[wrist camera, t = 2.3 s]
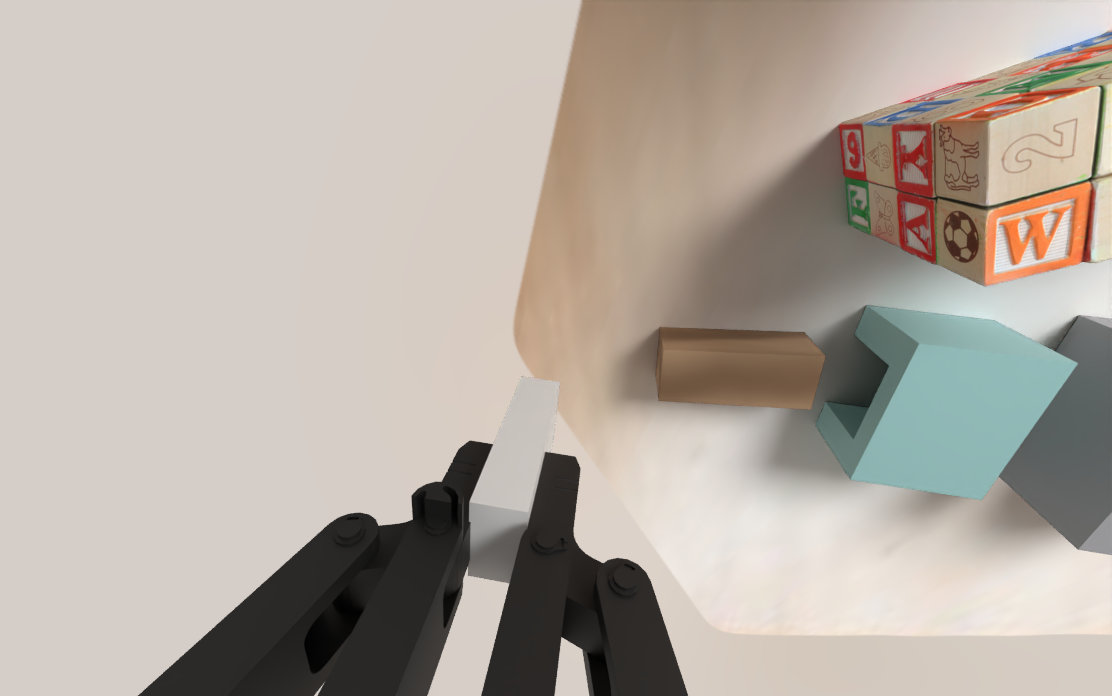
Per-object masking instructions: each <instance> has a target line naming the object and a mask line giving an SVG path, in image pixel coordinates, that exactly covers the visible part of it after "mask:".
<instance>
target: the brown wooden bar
mask: <svg viewBox="0 0 1112 696" xmlns="http://www.w3.org/2000/svg"><path fill="white" fill-rule="evenodd" d="M825 358H826V356H825V355H824V354H823V353H822V352H821V351H820V350H819V348H818V347H817V346H816V345H815V344H814V343H813V342H812V341H811V339H810V338H809V337H808V336H807V335H806V334H805V333H804V332H782V331H754V330H726V329H697V328H669V327H660V331H659V342H658V353H657V365H656V382H657V390H658V398H659V401H671V402H688V403H705V404H723V405H740V406H758V407H775V408H792V409H810V410H811V408H812V404H813V401H814V397H815V393H816V390H817V386H818V383H819V379H820V375H821V372H822V368H823V365H824V361H825Z"/></svg>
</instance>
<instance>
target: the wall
mask: <svg viewBox="0 0 1112 696" xmlns="http://www.w3.org/2000/svg"><path fill="white" fill-rule="evenodd" d="M1055 352H1057V353H1059V354H1061V355H1063V356H1065V357H1067V358H1069V359H1071V360H1073V361H1074V362H1076V363H1078V364H1077V366H1076V367H1075V368H1074V370H1073V371H1072V373H1071V374H1070V376H1069V377H1068V378H1067V380H1066V381H1065V383H1064V384H1063V385H1062V387H1061V388H1060V390H1059V391H1058V393H1057V394H1056V395H1055V397H1054V398H1053V400H1052V401H1051V402H1050V404H1049V405H1048V407H1047V408H1046V410H1045V411H1044V412H1043V414H1042V415H1041V417H1040V418H1039V420H1038V421H1037V422H1036V424H1035V425H1034V427H1033V428H1032V429H1031V431H1030V432H1029V434H1028V435H1027V437H1026V438H1025V439H1024V441H1023V442H1022V444H1021V445H1020V446H1019V448H1018V449H1017V451H1016V452H1015V454H1014V455H1013V456H1012V458H1011V459H1010V461H1009V462H1008V463H1007V465H1006V466H1005V468H1004V469H1003V471H1002V472H1001V473H1000V475H999V477H1000V478H1001V479H1002V480H1003V481H1004V482H1006V483H1007V484H1008V485H1009V486H1010V487H1011V488H1012V489H1013V490H1014V491H1015V492H1016V493H1017V494H1018V495H1020V496H1021V497H1022V498H1023V499H1024V500H1025V501H1026V502H1027V503H1028V504H1029V505H1030V506H1031V507H1033V508H1034V509H1035V510H1036V511H1037V512H1038V513H1039V514H1040V515H1041V516H1042V517H1043V518H1044V519H1045V520H1047V521H1048V522H1049V523H1050V524H1051V525H1052V526H1053V527H1054V528H1055V529H1056V530H1057V531H1058V532H1059V533H1061V534H1062V535H1063V536H1064V537H1065V538H1066V539H1067V540H1068V541H1069V542H1070V543H1071V544H1072V545H1074V546H1075V547H1076V548H1077V549H1078V550H1084V551H1090V552H1096V553H1102V554H1108V555H1112V319H1108V318H1099V317H1091V316H1082V315H1079V316H1078V318H1077V319H1076V321H1075V322H1074V324H1073V325H1072V327H1071V328H1070V330H1069V331H1068V333H1067V334H1066V336H1065V337H1064V339H1063V340H1062V342H1061V343H1060V345H1059V346H1058V348H1057V349H1056V351H1055Z"/></svg>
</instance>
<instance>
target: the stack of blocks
mask: <svg viewBox="0 0 1112 696" xmlns="http://www.w3.org/2000/svg"><path fill="white" fill-rule="evenodd" d="M839 130H840V141H841V151H842V161H843V172H844V176H845V183H846V195H847V207H848V217H849V225H851V226H853V227H855V228H857V229H859V230H861V231H863V232H865V233H867V234H869V235H875V236H877V237H879V238H881V239H883V240H885V241H887V242H889V243H891V244H894V245H896V246H899V247H901V248H902V249H903V250H904V251H906V252H908V253H910V254H912V255H916V256H917V257H920V258H921V259H923V260H926V261H928V262H930V263H932V264H938V265H940V266H942V267H944V268H946V269H948V270H951V271H953V272H955V273H957V274H959V275H961V276H963V277H965V278H967V279H970V280H972V281H974V282H976V283H978V284H980V285H983V286H985V287H986V286H990V285H995V284H999V283H1003V282H1007V281H1011V280H1015V279H1019V278H1023V277H1027V276H1031V275H1035V274H1040V273H1044V272H1049V271H1052V270H1056V269H1060V268H1064V267H1069V266H1073V265H1077V264H1079V263H1081V262H1087V263H1097V262H1101V261H1104V260H1108V259H1112V30H1110V31H1107V32H1106V33H1105V34H1103V35H1100V36H1097V37H1094V38H1091V39H1088V40H1085V41H1082V42H1080V43H1077V44H1074V45H1071V46H1068V47H1065V48H1062V49H1059V50H1056V51H1053V52H1050V53H1047V54H1045V55H1042V56H1039V57H1036V58H1034V59H1032V60H1029V61H1026V62H1023V63H1020V64H1017V65H1014V66H1011V67H1008V68H1005V69H1002V70H999V71H997V72H994V73H991V74H988V75H985V76H982V77H979V78H976V79H974V80H971V81H968V82H964V83H958V84H955V85H952V86H949V87H946V88H943V89H940V90H937V91H935V92H932V93H929V94H926V95H923V96H920V97H917V98H914V99H911V100H908V101H905V102H903V103H899V104H896V105H892V106H889V107H886V108H883V109H880V110H877V111H874V112H871V113H869V114H866V115H863V116H860V117H857V118H854V119H851V120H848V121H845V122H842V123H841V124H840V125H839Z"/></svg>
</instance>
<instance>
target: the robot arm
mask: <svg viewBox="0 0 1112 696" xmlns="http://www.w3.org/2000/svg"><path fill="white" fill-rule="evenodd" d="M559 388H560V382H557V381H550V380H543V379H537V378H530V377H524V376H522V377H521V379H520V381H519V384H518V386H517V388H516V391H515V393H514V396H513V398H512V401H511V403H510V405H509V408H508V410H507V413H506V415H505V417H504V420H503V422H502V425H501V427H500V429H499V432H498V434H497V437H496V439H495V441H494V444H488V443H482V442H475V441H469V442H467V443H466V444H465V445H464V446H462V447H461V448H460V449H459V450H458V452H457V453H456V456H455V457H454V459H453V462H452V463H451V465H450V467H449V469H448V472H447V473H446V475H445V477H444V478H443V480H442V482H433V483H430V484H426V485H424V486H422V487H420V488H419V489H417V490H416V492H415V493H414V494H413V495H412V512H413V520H411V521H408V522H405V523H400V524H392V525H382V526H378V524H377V522H376V519H374V518H373V517H372V516H370V515H368V514H363V513H353V514H347V515H344V516H342V517H339V518H337V519H336V520H334V521H333V522H331V523H330V524H329V525H327V526H326V527H325V528H324V529H323V530H322V531H321V532H320V533H319V534H317V536H315V537H314V538H313V539H312V540H311V541H310V542H309V543H307V544H306V545H305V546H304V547H303V548H302V549H301V550H300V551H298V553H296V554H295V555H294V556H293V557H292V558H291V559H290V560H289V561H287V562H286V563H285V564H284V565H283V566H282V567H281V568H280V569H278V570H277V571H276V572H275V573H274V574H273V575H272V576H271V577H270V578H268V579H267V580H266V581H265V582H264V583H263V584H262V585H261V586H260V587H258V588H257V589H256V590H255V591H254V592H253V593H252V594H251V595H250V596H249V597H247V598H246V599H245V600H244V601H243V602H242V603H241V604H240V605H238V606H237V607H236V608H235V609H234V610H233V611H232V612H231V613H230V614H228V615H227V616H226V617H225V618H224V619H223V620H222V621H221V622H220V623H218V624H217V625H216V626H215V627H214V628H213V629H212V630H211V631H209V632H208V633H207V634H206V635H205V636H204V637H203V638H202V639H201V640H199V641H198V642H197V643H196V644H195V645H194V646H193V647H192V648H191V649H189V650H188V651H187V652H186V653H185V654H184V655H183V656H182V657H181V658H179V660H177V661H176V662H175V663H174V664H173V665H172V666H171V667H169V668H168V669H167V670H166V671H165V672H164V673H163V674H162V675H161V676H159V677H158V678H157V679H156V680H155V681H154V682H153V683H152V684H151V685H149V686H148V687H147V688H146V689H145V690H144V691H143V692H142V693H141V694H139V695H138V696H314V695H315V693H316V692H317V691H318V690H319V688H320V687H321V686H322V685H323V683H324V682H325V683H324V685H323V687H322V689H321V691H320V692H319V694H318V696H427V695H428V692H429V689H430V686H431V683H432V680H433V677H434V674H435V671H436V668H437V666H438V663H439V660H440V657H441V654H442V651H443V648H444V645H445V642H446V639H447V637H448V634H449V631H450V628H451V625H452V622H453V619H454V616H455V613H456V610H457V607H458V605H459V602H460V599H461V596H462V588H463V577H464V575H465V572H466V569H467V567H468V576H474V577H479V578H484V579H490V580H495V581H500V582H506V583H509V587H508V591H507V595H506V599H505V603H504V608H503V611H502V616H501V619H500V623H499V627H498V631H497V635H496V639H495V643H494V648H493V651H492V655H491V659H490V663H489V667H488V671H487V675H486V679H485V683H484V687H483V691H482V695H481V696H554V694H555V686H556V677H557V668H558V661H559V652H560V643H561V637H562V638H564V639H566V640H568V641H569V642H571V643H573V644H574V645H576V646H578V647H579V648H581V649H583V656H584V662H585V669H586V675H587V682H588V689H589V695H590V696H688V694H687V691H686V688H685V684H684V681H683V679H682V675H681V672H680V669H679V666H678V663H677V660H676V657H675V654H674V651H673V648H672V645H671V642H670V639H669V636H668V632H667V629H666V626H665V624H664V621H663V617H662V614H661V611H660V608H659V605H658V602H657V599H656V596H655V593H654V590H653V587H652V584H651V581H650V579H649V577H648V575H647V573H646V572H645V571H644V570H643V569H642V568H641V567H640V566H639V565H638V564H636V563H634V562H632V561H630V560H628V559H621V558H616V559H611V560H607V561H606V562H605V563H601V562H599V561H597V560H595V559H593V558H592V557H590V556H588V555H587V554H585V553H584V552H583V551H582V550H581V549H580V548H579V546H578V545H577V543H576V541H575V538H574V532H573V527H574V520H575V511H576V503H577V494H578V486H579V477H580V467H579V464H578V462H577V459H576V457H574V456H568V455H561V454H555V453H551V448H552V443H553V438H554V430H555V421H556V413H557V405H558V396H559Z"/></svg>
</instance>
